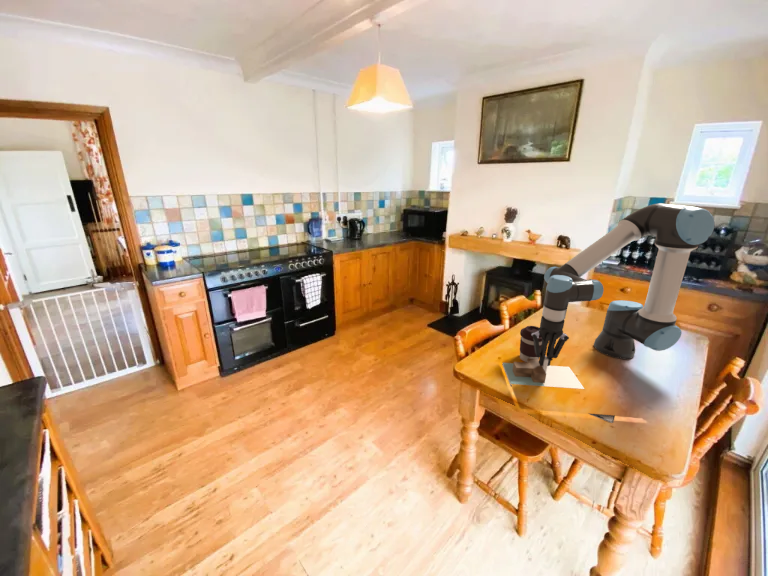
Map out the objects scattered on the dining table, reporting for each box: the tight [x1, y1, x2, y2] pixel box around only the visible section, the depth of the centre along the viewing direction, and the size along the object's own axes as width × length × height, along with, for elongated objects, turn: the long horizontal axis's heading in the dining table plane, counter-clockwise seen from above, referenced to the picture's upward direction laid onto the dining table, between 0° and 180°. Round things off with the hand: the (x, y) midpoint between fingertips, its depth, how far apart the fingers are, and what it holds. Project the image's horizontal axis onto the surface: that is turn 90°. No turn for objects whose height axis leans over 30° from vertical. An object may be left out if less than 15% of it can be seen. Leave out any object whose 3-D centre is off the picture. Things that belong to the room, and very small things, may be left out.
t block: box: [513, 358, 546, 383], centre depth 126 cm, size 10×10×4 cm
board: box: [502, 362, 585, 390], centre depth 126 cm, size 26×14×1 cm, turn 83°
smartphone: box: [588, 413, 616, 424], centre depth 111 cm, size 7×1×15 cm
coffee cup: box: [519, 325, 542, 362], centre depth 135 cm, size 10×10×15 cm
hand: (542, 372), depth 125 cm, fingers closed
